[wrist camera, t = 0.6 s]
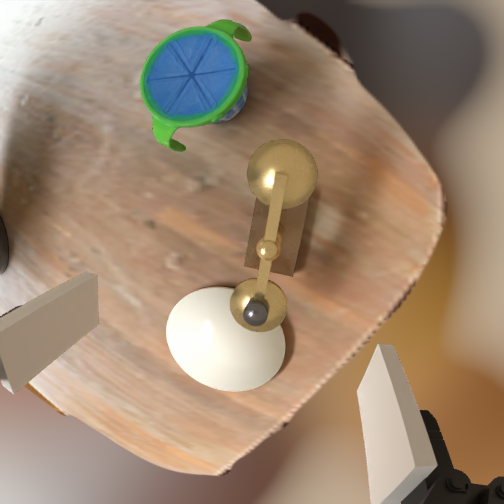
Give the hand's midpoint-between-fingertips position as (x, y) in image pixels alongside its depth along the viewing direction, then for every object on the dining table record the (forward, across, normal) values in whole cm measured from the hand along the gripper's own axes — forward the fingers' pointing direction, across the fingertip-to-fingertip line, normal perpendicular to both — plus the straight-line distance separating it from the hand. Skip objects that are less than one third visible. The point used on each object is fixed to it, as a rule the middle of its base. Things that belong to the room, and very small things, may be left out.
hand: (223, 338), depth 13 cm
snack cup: (+25, -10, +15) cm, 31 cm away
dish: (+25, -4, -17) cm, 31 cm away
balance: (+25, 0, 0) cm, 25 cm away
